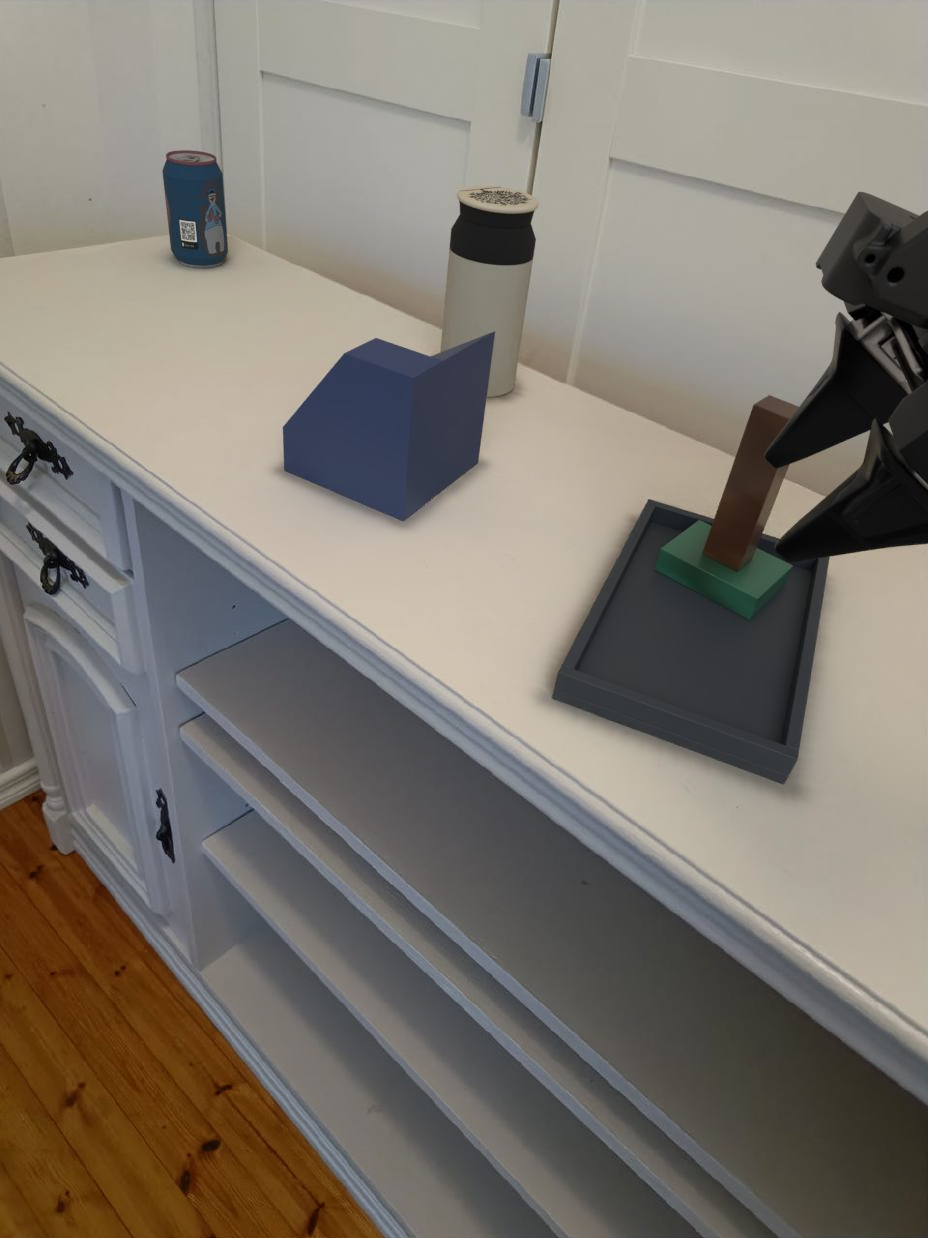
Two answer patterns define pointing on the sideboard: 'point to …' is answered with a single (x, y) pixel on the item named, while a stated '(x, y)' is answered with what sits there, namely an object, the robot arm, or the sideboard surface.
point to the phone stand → (392, 424)
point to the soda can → (195, 208)
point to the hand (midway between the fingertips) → (774, 504)
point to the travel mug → (490, 276)
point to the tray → (697, 655)
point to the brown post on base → (737, 525)
